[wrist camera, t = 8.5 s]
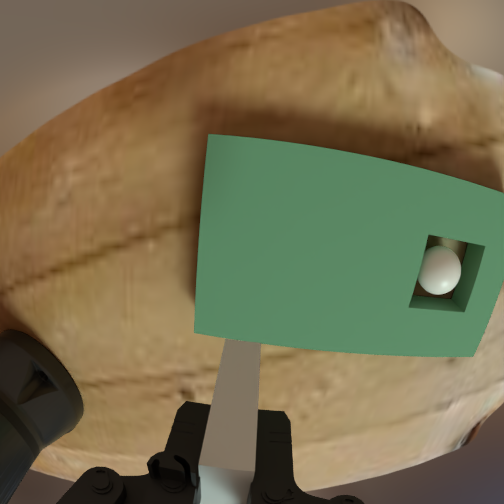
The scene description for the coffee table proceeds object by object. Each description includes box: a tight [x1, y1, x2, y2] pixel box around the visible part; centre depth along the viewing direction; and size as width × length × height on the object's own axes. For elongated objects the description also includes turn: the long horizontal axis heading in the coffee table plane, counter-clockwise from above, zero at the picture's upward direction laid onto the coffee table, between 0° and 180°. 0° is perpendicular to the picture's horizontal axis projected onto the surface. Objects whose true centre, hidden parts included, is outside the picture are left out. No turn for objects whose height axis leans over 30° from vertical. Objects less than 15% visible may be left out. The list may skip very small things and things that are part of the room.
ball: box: [417, 246, 461, 295], centre depth 21 cm, size 4×4×4 cm
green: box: [194, 134, 504, 357], centre depth 21 cm, size 24×14×2 cm, turn 83°
